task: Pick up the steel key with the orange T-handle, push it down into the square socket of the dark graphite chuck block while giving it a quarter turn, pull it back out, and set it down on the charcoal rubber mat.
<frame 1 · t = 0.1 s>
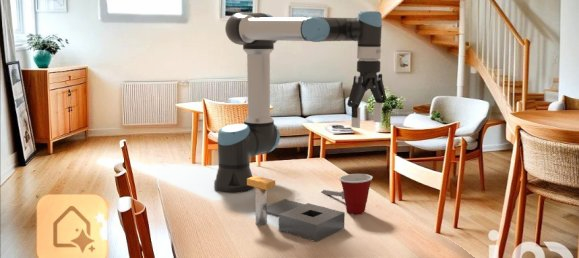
hand: (366, 124, 182), 28 cm above the table, tool pointing down, fingers open, 13 cm apart
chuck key: (261, 223, 170), on the table
plastic cup: (354, 212, 181), on the table
caliper: (337, 200, 194), on the table
chuck block: (311, 229, 165), on the table
key mat: (289, 210, 182), on the table
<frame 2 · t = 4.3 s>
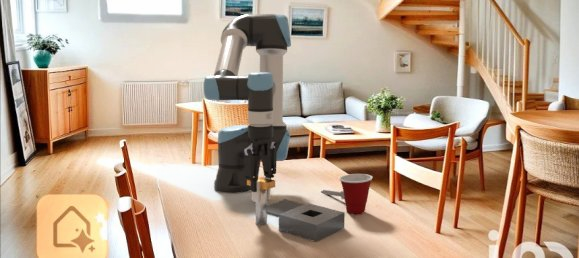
hand: (261, 199, 168), 8 cm above the table, tool pointing down, fingers closed on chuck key, 4 cm apart
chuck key: (261, 223, 170), on the table, touching gripper
everything else where it was.
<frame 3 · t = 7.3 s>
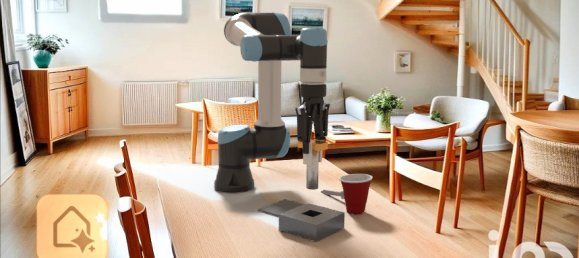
hand: (312, 162, 161), 21 cm above the table, tool pointing down, fingers closed on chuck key, 4 cm apart
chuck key: (312, 187, 162), point 13 cm above the table, touching gripper
everything else where it was.
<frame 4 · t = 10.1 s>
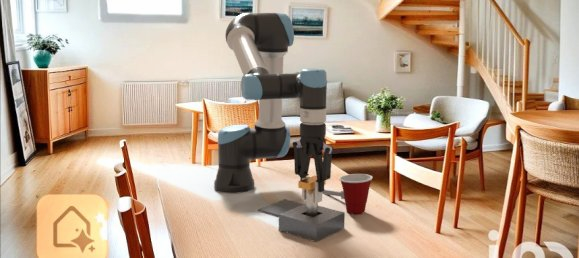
hand: (312, 200, 163), 9 cm above the table, tool pointing down, fingers closed on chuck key, 4 cm apart
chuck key: (311, 224, 164), point 1 cm above the table, touching gripper
everything else where it was.
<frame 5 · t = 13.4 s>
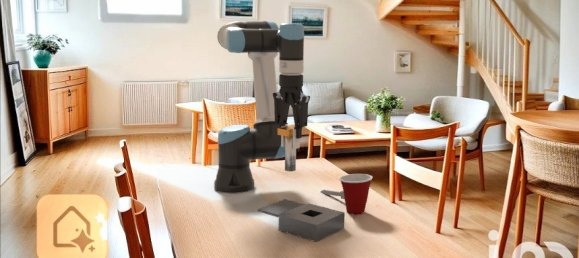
hand: (290, 146, 175), 22 cm above the table, tool pointing down, fingers closed on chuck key, 4 cm apart
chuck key: (290, 169, 177), point 14 cm above the table, touching gripper
everything else where it was.
when the fingers open (10 cm above the table, at t = 16.3 s): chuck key drops 1 cm, resting on key mat.
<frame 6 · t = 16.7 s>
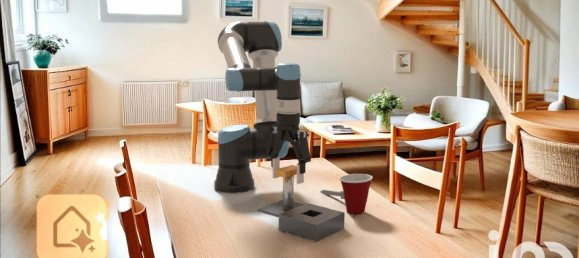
hand: (287, 180, 179), 11 cm above the table, tool pointing down, fingers open, 9 cm apart
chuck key: (287, 209, 181), point 1 cm above the table, touching key mat
everything else where it was.
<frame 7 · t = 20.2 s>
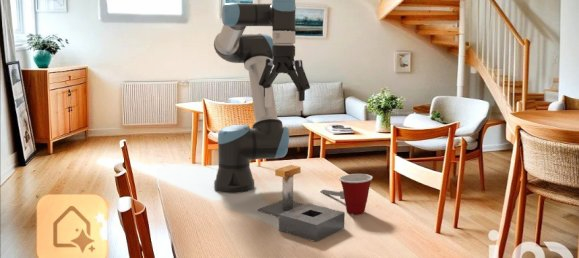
hand: (283, 108, 184), 33 cm above the table, tool pointing down, fingers open, 13 cm apart
nothing on the table moved.
at the end: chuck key inside the target area (1.0 cm from its centre), point 0.6 cm above the table; the gripper is holding nothing; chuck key moved 14.0 cm from its start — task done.
